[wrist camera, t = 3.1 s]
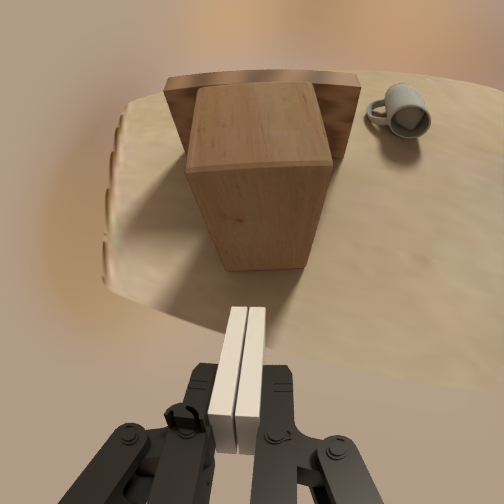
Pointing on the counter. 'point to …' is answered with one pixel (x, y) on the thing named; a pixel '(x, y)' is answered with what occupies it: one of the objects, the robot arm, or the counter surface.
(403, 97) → the ceramic mug
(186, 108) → the walnut board
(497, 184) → the counter surface
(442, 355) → the counter surface
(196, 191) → the wooden block
